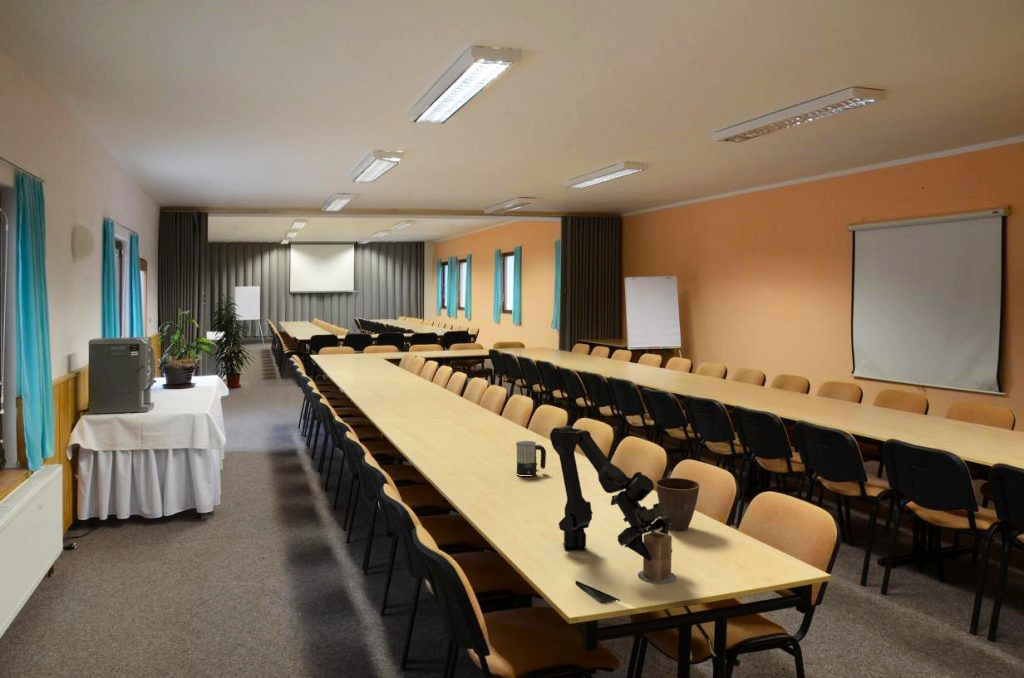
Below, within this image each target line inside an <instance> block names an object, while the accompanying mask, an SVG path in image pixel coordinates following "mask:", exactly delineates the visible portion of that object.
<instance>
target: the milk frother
mask: <svg viewBox="0 0 1024 678" xmlns="http://www.w3.org/2000/svg"><path fill="white" fill-rule="evenodd" d="M515 445H516V473H517V474H519V475H535V474H536V475H537V466H538V462H537V451H540V468H541V469H543V470H544V469H546V461H547V460H546V459H547V450H546V448H545V447H544V446H543V445H541V444H537V442H536V441H533V440H531V441H530V440H523V441H522V440H520V441H517V442H516V443H515ZM536 475H535V476H536Z"/></svg>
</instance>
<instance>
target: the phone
mask: <svg viewBox="0 0 1024 678" xmlns="http://www.w3.org/2000/svg"><path fill="white" fill-rule="evenodd" d="M575 585H576V586H577V587H578V588H580V589H582V591H584V592H585V593H586V594H587V595H589V596H591V598H593V599H595V600H596V601H597V602H598V603H600V604H607V602H609V603H612V601H614V602H617V601H616V600H618V601H621V599H619V598H618V597H615V596H612V595H611V594H608V593H606V592H603V591H601V590H599V589H597V588H595V587H593V586H590V585H587V584H585V583H583V582H580V581H578V580H575Z"/></svg>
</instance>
